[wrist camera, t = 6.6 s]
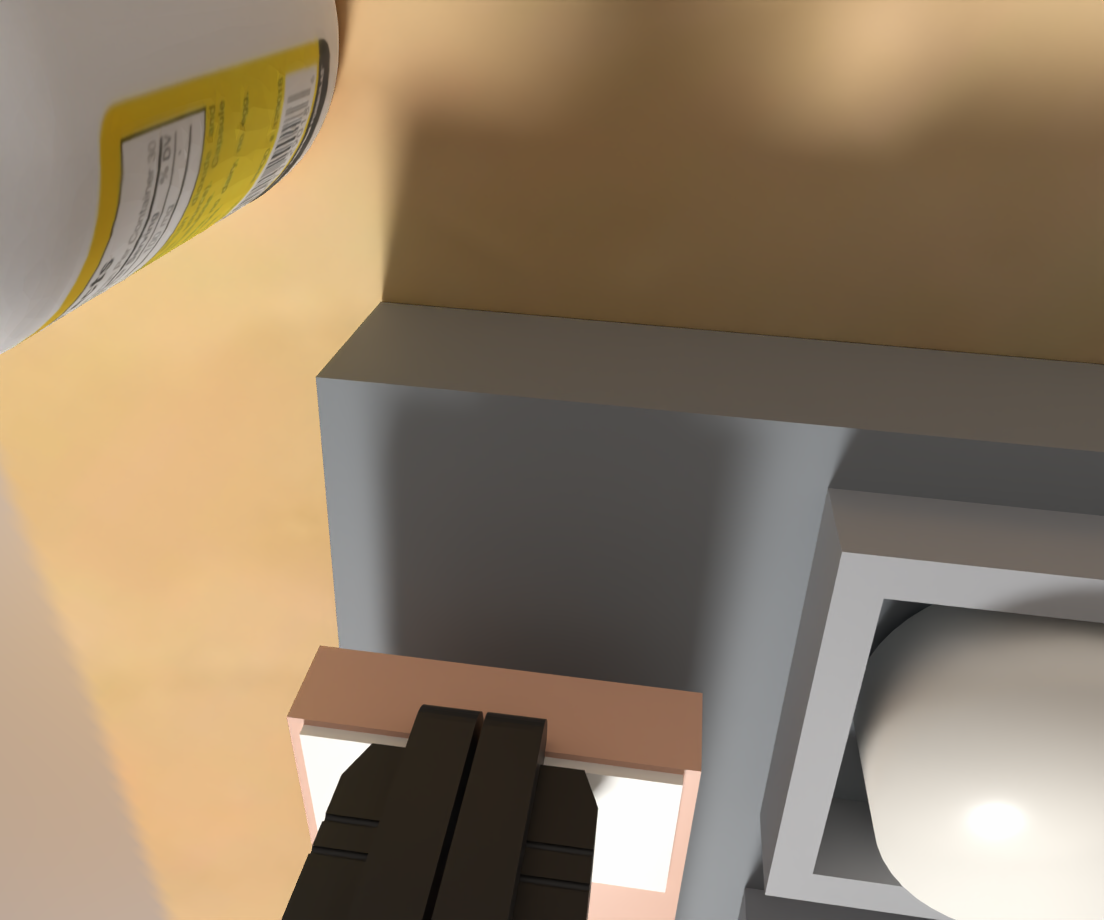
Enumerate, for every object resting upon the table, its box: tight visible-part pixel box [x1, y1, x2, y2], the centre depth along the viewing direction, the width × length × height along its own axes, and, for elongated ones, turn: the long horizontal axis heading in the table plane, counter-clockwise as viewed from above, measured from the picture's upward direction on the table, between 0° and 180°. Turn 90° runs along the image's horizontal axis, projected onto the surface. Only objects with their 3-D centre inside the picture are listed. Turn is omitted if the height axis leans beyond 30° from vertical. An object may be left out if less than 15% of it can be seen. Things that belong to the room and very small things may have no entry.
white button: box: [853, 604, 1104, 920], centre depth 13 cm, size 4×4×2 cm
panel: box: [316, 302, 1104, 920], centre depth 17 cm, size 14×16×4 cm
